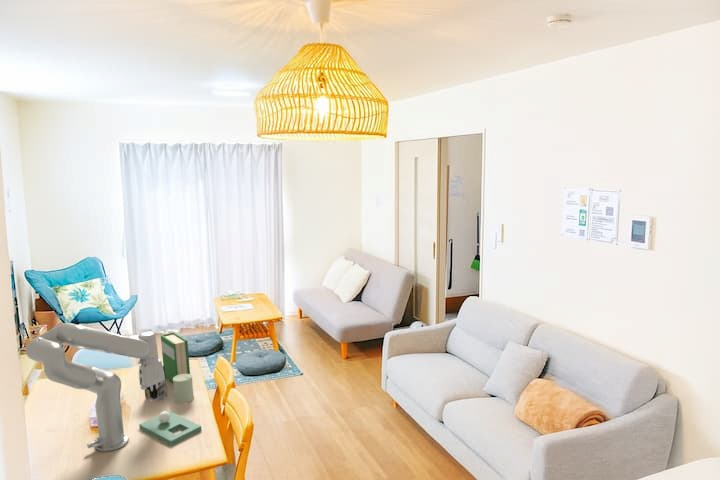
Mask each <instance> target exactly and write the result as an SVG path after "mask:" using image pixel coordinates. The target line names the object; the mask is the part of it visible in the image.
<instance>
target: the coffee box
mask: <svg viewBox="0 0 720 480" xmlns="http://www.w3.org/2000/svg"><path fill="white" fill-rule="evenodd" d="M162 366H163V365H162ZM163 370H164V375H165V366H163ZM157 392H158V395H157V396H158V398H155V399H153V398H151V397H150V393H149V390H148V389H146V390H144V398H145V400H149V401H154V402H159V403H160V402H161V401H162V400H164V399H167V398H168V387H167V379H166V376H165V379H164V381H163V382H162V383H160V384H159V386H158V389H157Z"/></svg>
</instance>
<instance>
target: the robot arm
mask: <svg viewBox="0 0 720 480" xmlns="http://www.w3.org/2000/svg"><path fill="white" fill-rule="evenodd" d="M63 345H65V346H69V347H73V348H76V349H82V350H83V349H84V350H89V351H95V352H99V353H100V352H101V353H104V354H111V355H119V356H123V357H128V358H134V359H139V360H138V361H137V364H138V366H139V368H138V378H139V385H140V389H141V390H142V391H143V390H144V391H145V390H146V389H148V390H149V393H150V397H151V398H153V399H155V398H158V396H157V395H158V392H157V389H158V386H159V384H160V383H162V382H163V381H164V379H165V375H164V370H163V362H162V361H161V359H159V351H158V342H157V335H156V333H155V332H154V331H144V332H141V333H139V334H136V335H132V336H124V335H120V334H118V333H115V332H111V331H108V330H103V329H99V328H93V327H88V326H84V325H80V324H76V323H72V322H64V323H60V324H59V325H57V326H55V327H53V328H51V329H49V330H47V331H45V332H44V333H42V334H40V335H38V336H36V337H34V338H33V339H32V340H30V342H28V344H27V345H26V348H25V354H26V356H27V358H29V359H30V360H32V361H35V362H37V363H40V364H42V365H43V373H44V374H45V376H46V378H47V379H48V380H49V381H52V382H54V383H57V384H61V385H64V386H68V387H69V388H70V387H71V388H73V389H77V390H85V391H89V392H91V393H94V394H96V400H95V406H94V407H95V414H96V423H97V432H98V434H97V435H96V439H94V440H93V441H91V442H88V443H87V444H86V446H87V449H91V448H94V449H96V450H98V451H99V452H112V451H115V450H118V449H119V450H120V448H122V447H124V446H125V445H127V444H128V442H129V440H130V439H129V438H130V437H129V435H127V434H126V433H125V430H124V421H123V411H122V403H121V391H122V382H121V379H120V376H119V375H117V374H116V373H115V372H112V371H108V370H105V369H102V368H99V367H95V366H92V365H88V364H85V363H81V362H78V361H69V360H67V359H66V352H65V349H64V347H63Z"/></svg>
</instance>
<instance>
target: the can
mask: <svg viewBox="0 0 720 480" xmlns="http://www.w3.org/2000/svg"><path fill="white" fill-rule="evenodd" d="M172 385H173V392H174V393H173V395H174V396H173V397H174V398H173V399H174V403H176V404H178V405H179V404H180V405H182V404H187V403H191V402H192V401H193V400H194V398H195V395H194V386H193V375H192V374H191V373H190V374H179V375H176V376H175V377H173V384H172Z"/></svg>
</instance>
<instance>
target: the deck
mask: <svg viewBox="0 0 720 480" xmlns="http://www.w3.org/2000/svg"><path fill="white" fill-rule="evenodd" d="M167 412H168V413H169V414H170V420H169V421H168V422H167V423H161V422H160V421H159V420H158V416H159V415H157V416H154V417H152V418H150V419H149V420H148V419H147V420H146V421H143V422H142V423H139V425H138V426H139V429H140V430H142V431H143V432H146V433H147V434H148V435H149V434H150V435H151V436H153V437H154V438H157V439H159V440H160V441H162V442H164V443H166V444H168V445H170V446H173V445H176V444H177V443H179V442H181V441H183V440H186V439H187V438H189V437H190V436H193V435H195V434H197V433H199V432H200V431H202V425H200V424H198V423H196V422H194V421H191V420H190V419H187V418H185V417H183V416H181V415H179V414H177V413H174V412H173V411H170V410H167ZM179 429H182V430H183V431H181V432H178V433H177V434H175V433H173V432H175V431H177V430H179Z"/></svg>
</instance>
